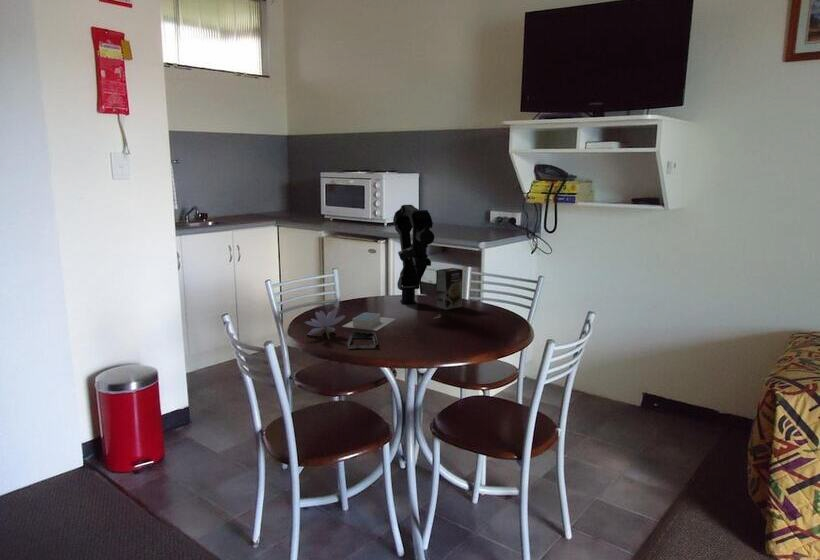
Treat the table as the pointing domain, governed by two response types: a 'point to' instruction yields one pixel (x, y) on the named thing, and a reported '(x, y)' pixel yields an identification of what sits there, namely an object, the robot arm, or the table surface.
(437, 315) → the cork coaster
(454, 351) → the table surface
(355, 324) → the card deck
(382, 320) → the mat
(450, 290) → the coffee box
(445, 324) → the table surface
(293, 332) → the table surface
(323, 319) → the water lily
